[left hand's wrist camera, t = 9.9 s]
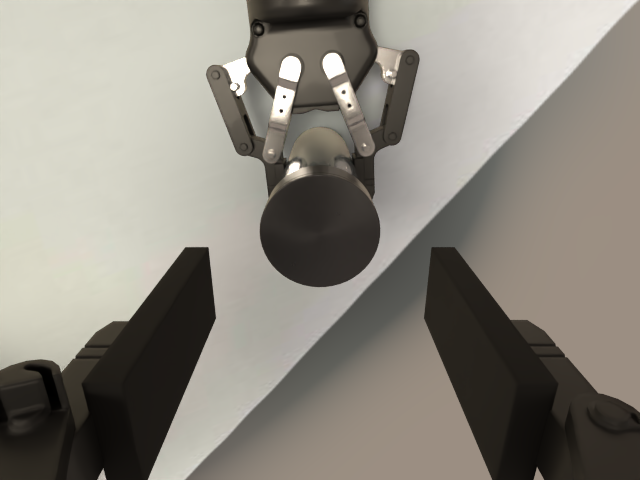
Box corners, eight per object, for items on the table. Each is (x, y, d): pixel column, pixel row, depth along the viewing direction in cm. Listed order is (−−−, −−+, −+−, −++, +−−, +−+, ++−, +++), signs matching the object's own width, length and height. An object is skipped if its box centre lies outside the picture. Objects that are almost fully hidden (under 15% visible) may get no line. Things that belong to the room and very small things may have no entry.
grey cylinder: (300, 119, 35) (282, 164, 18) (356, 136, 35) (388, 196, 19) (285, 174, 37) (255, 262, 20) (338, 190, 37) (353, 289, 20)
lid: (281, 150, 19) (277, 158, 18) (390, 183, 20) (397, 195, 18) (253, 252, 21) (247, 270, 19) (354, 280, 22) (357, 299, 20)
